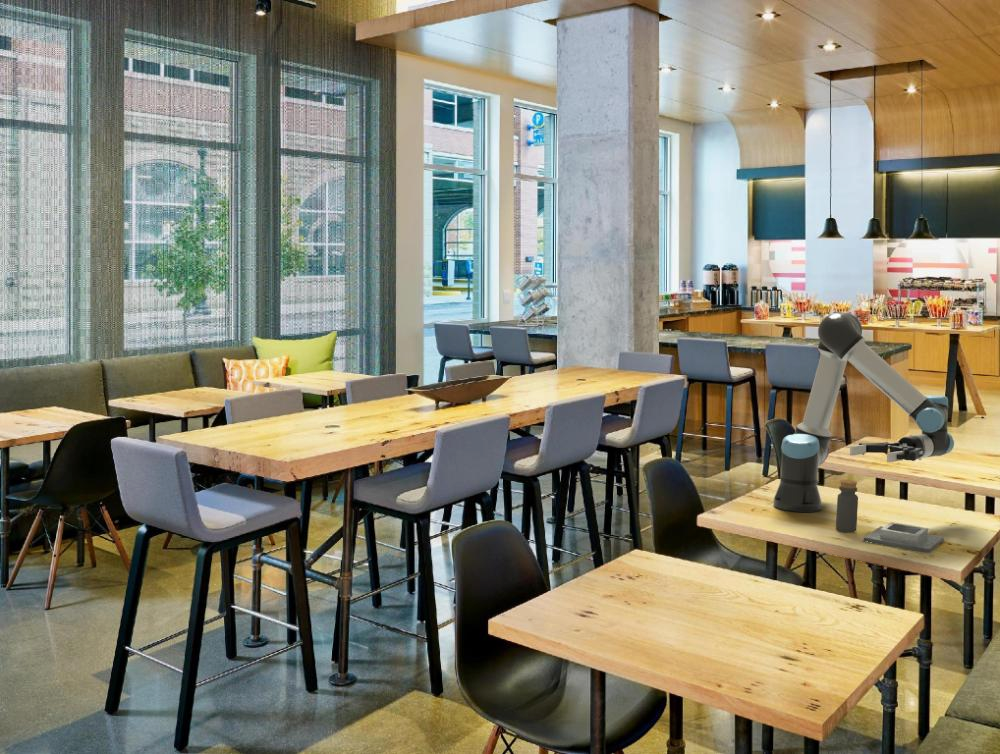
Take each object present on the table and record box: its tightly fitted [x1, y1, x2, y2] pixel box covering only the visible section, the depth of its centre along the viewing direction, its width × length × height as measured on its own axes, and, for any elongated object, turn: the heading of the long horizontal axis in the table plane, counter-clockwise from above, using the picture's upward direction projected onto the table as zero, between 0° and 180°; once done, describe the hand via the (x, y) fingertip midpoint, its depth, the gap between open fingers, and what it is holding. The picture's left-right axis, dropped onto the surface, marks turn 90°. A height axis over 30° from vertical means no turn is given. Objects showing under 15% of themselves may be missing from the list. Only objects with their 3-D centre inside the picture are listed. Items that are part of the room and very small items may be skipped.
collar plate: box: [862, 521, 945, 554], centre depth 284 cm, size 18×16×4 cm
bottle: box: [835, 479, 859, 533], centre depth 295 cm, size 6×6×15 cm
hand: (868, 454), depth 298 cm, fingers open, 13 cm apart
